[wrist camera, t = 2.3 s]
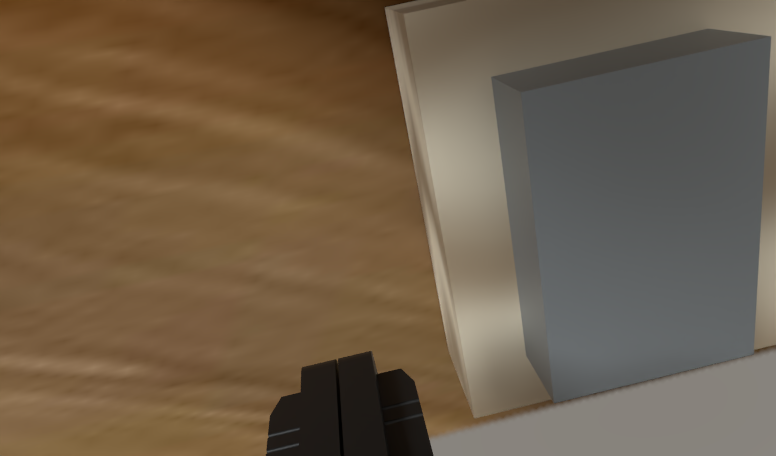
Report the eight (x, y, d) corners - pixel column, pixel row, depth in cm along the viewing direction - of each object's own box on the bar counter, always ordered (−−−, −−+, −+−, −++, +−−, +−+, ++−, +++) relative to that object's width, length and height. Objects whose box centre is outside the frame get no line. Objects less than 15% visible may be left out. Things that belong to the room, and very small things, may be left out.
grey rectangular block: (491, 76, 16) (520, 92, 14) (708, 28, 16) (771, 36, 14) (526, 355, 20) (554, 403, 17) (703, 312, 20) (753, 354, 18)
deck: (384, 7, 19) (403, 14, 15) (782, -79, 19) (893, -93, 16) (448, 351, 24) (474, 418, 20) (761, 275, 24) (842, 328, 21)
